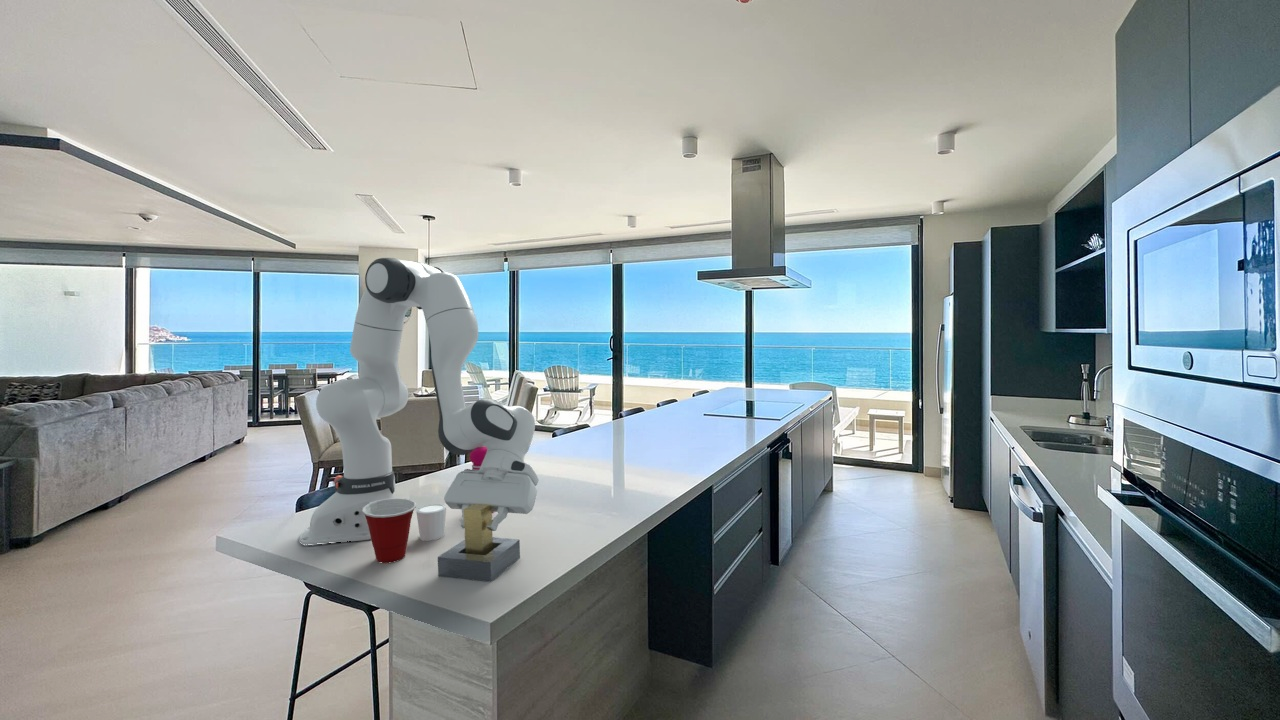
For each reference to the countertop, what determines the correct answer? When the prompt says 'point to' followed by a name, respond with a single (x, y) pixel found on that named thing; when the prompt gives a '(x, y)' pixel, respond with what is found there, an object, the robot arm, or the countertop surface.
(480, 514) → the brass post
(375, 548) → the plastic cup
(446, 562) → the block
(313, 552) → the countertop surface
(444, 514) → the white cylinder
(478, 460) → the pepper mill
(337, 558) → the countertop surface
